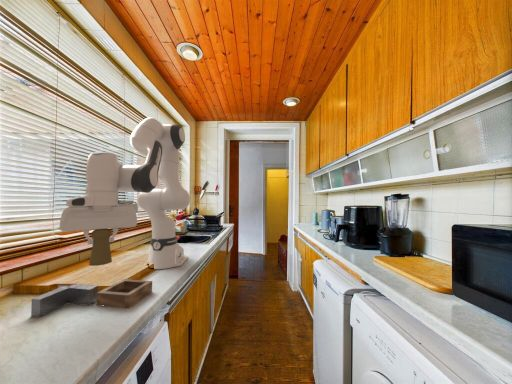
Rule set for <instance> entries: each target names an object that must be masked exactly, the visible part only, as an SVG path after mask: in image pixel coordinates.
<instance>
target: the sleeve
mask: <svg viewBox="0 0 512 384" xmlns="http://www.w3.org/2000/svg"><path fill="white" fill-rule="evenodd" d="M151 293H153V280H142V279H141V280H140V279H127V278H125V279H121V280H120V281H117V282H115V283H113V284H112V285H109V286H108V287H104V289H102V290H100V291H99V290H98V292H97V299H96V302H95V303H96V306H97V305H104V306H103V307H108V306H110V308H121V309H130V308H131V307H133V306H135V305H136V304H137V303H138V302H140V301H142V300H143V299H145V298H146V297H147V296H149V295H150V294H151Z"/></svg>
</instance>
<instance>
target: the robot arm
mask: <svg viewBox="0 0 512 384" xmlns="http://www.w3.org/2000/svg"><path fill="white" fill-rule="evenodd" d="M130 134H131V135H130V137H129V143H130V145H131V147H132V148H133V150H135V152H137V153H138V154H140V155H142V156H146V158H145V159H146V160H145V162H144V163H141V164H140V165H139V164H138V165H124V164H123V163H122V162H120V161H119V157H118V154H117V153H115V152H111V151H109V152H108V151H105V152H104V151H96V152H95V151H94V152H92V153H90V154H89V155H88V157H87V158H88V159H87V161H86V168H85V169H86V170H85V179H86V183H87V184H86V188H85V194H84V195H79V196H76V197H74V198H69V199H66V202H65V205H66V206H67V207H65V209H63V210H62V213H61V215H60V220H59V230H60V231H61V232H81V231H83V236H84V237H85V238H86V240H87V245H88V246H89V245H93V241H94V239H93V238H92V237H90V235H89V234H90V231H94V230H96V229H110V230H111V229H112V232H113V233H112V234H111V236H110V237H109V243H114V242H115V237H116V235H117V234H118V232H119V229H125V228H135V227H136V226H137V224H138V216H137V215H138V214H137V213H138V211H139V207H140V208H141V209H142V210H143V211H144V212H146V214H147V216H148V217H149V219H150V223H151V238H150V245H151V246H150V247H149V250H148V259H147V262H148V261H149V262H151V263H154V269H153V270H164V269H170V268H171V269H172V268H175V267H181V266H182V265H183V264H184V263H185V262H186V261H187V260H188V259H189V256H188V255H185V254H184V248H183V247H182V245H180V244H179V243H178V240H180V238H181V237H180V235H176V225H177V224H176V221H175V220H174V219H173V218H172V217H170V216H168V215H167V214H166V211H178V210H183V209H187V208H188V206H190V202H191V195H190V193H189V192H188V190H186V189H185V188H184V187H183V186H182V185H181V183H180V180H179V178H180V177H179V176H180V175H179V173H180V151H179V150H180V149H181V147H182V146H183V144H184V143H185V141H186V133H185V130H184V128H183V127H182V125H179V124H162V122H161V121H160V120H159V119H157V118H155V117H147V118H145V119H143V120H142V121H140V122H139V124H137V125H136V127H135V128H134V129H133V131H132V132H131V133H130ZM158 181H159V182H161V183H163V184H164V188H156V187H157V186H158V183H159V182H158ZM119 192H121V193H123V192H124V193H129V192H130V193H133V192H134V193H135V192H137V193H138V195H137V200H136V201H137V202H136V201H134V200H120V199H119Z"/></svg>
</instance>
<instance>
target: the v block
mask: <svg viewBox="0 0 512 384" xmlns="http://www.w3.org/2000/svg"><path fill="white" fill-rule="evenodd" d="M97 292H99V285H93V284H80V283H79V284H78V283H74V284H71V285H69V286H67V285H63V286H60V287H58V288H56V289H52V290H50V291H48V292H46V293H43V294H39V295H38V296H35V297H33V298H31V309H30V310H31V312H30V316H31V317H36V318H41V317H43V316H45V315H47V314H49V313H51V312H53V311H55V310H58V309H59V308H61V307H64V306H66V305H68V304H69V303H71V305H72V303H73V305H80V304H88V305H87V306H91V305H92V303H93V302H95V301H96V299H97ZM95 303H96V302H95ZM90 304H91V305H90ZM93 304H94V303H93Z"/></svg>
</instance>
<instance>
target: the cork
mask: <svg viewBox="0 0 512 384" xmlns="http://www.w3.org/2000/svg"><path fill="white" fill-rule="evenodd" d="M110 236H112V230H111V229H96V230H92V231H91V238H93V239H94V241H93V244H92V246H91V252H90V258H89V262H88V263H89V264H88V265H89V266H91V267H93V266H95V267H97V266H104V265H108V264H111V263H112V262H113V259H112V252H111V244H110V243H111V242H109V237H110Z"/></svg>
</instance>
